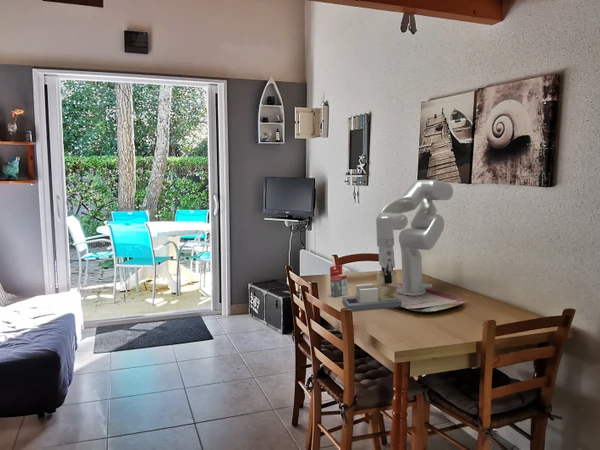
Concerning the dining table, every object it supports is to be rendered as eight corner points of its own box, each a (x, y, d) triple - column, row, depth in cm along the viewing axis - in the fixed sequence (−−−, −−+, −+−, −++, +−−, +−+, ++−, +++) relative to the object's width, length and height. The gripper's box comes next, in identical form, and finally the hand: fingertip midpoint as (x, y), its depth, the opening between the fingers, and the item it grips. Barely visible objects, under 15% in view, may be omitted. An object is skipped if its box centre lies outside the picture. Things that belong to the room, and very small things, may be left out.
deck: (392, 298, 227) (392, 292, 227) (401, 306, 213) (401, 300, 213) (342, 302, 224) (342, 296, 224) (349, 311, 211) (348, 305, 210)
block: (394, 295, 222) (393, 269, 220) (397, 297, 218) (396, 271, 216) (377, 296, 221) (376, 271, 219) (379, 299, 217) (378, 273, 215)
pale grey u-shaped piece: (372, 296, 223) (372, 283, 222) (378, 301, 214) (377, 288, 213) (356, 297, 222) (355, 285, 222) (360, 303, 213) (360, 290, 212)
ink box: (348, 294, 238) (346, 265, 236) (335, 297, 234) (333, 268, 232) (343, 292, 241) (342, 264, 239) (330, 295, 237) (329, 267, 235)
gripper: (399, 245, 208) (400, 286, 210) (388, 239, 224) (389, 277, 227) (382, 246, 207) (383, 287, 210) (372, 240, 224) (373, 278, 226)
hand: (386, 281), depth 218 cm, fingers closed on block, 4 cm apart
